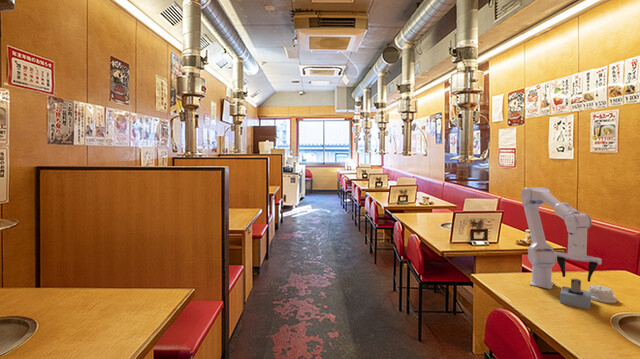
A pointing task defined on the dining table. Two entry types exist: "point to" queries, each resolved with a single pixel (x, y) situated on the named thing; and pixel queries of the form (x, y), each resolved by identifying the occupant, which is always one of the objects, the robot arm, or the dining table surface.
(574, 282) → the steel pin
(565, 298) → the block
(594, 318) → the dining table surface
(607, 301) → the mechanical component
